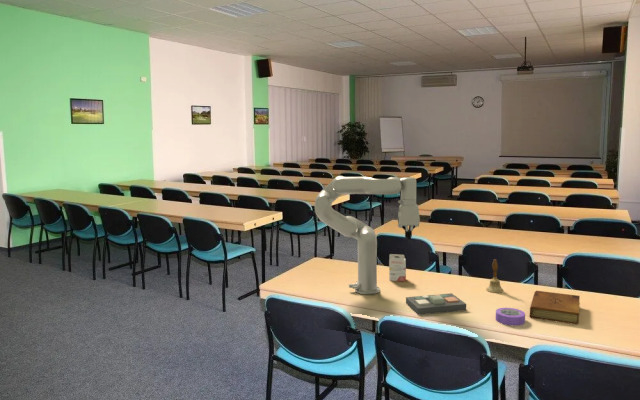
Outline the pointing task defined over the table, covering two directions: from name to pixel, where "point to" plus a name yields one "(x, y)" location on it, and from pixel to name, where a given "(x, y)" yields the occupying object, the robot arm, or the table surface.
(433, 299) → the key sage
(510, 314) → the masking tape
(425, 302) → the key cream
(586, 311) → the table surface
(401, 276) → the ink cartridge box
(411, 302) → the keypad
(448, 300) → the key terracotta
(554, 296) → the diary
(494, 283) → the hand bell
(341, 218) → the robot arm
